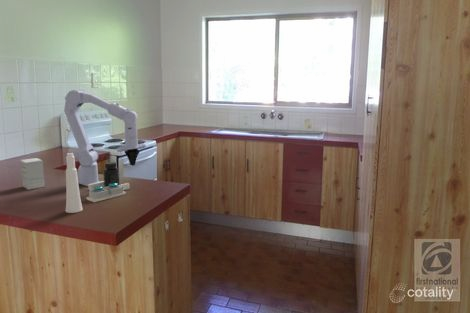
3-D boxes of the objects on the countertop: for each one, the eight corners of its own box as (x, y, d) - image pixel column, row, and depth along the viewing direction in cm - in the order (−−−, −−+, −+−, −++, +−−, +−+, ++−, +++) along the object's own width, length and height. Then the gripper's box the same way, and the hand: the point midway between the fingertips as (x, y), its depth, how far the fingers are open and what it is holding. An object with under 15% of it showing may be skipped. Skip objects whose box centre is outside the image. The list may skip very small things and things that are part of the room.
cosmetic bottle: (77, 206, 146) (73, 151, 142) (85, 210, 142) (82, 153, 138) (62, 210, 141) (57, 153, 137) (70, 214, 138) (66, 155, 133)
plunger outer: (92, 195, 156) (92, 187, 155) (100, 193, 158) (99, 185, 158) (97, 197, 153) (96, 188, 153) (105, 195, 156) (104, 187, 155)
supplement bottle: (121, 186, 174) (120, 161, 172) (117, 190, 168) (116, 164, 165) (106, 186, 174) (105, 161, 172) (102, 190, 167) (100, 164, 165)
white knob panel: (71, 193, 163) (70, 185, 162) (113, 183, 179) (113, 176, 178) (94, 202, 151) (93, 194, 151) (137, 191, 167) (136, 183, 167)
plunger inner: (107, 192, 161) (107, 183, 160) (114, 190, 164) (114, 182, 163) (112, 193, 159) (111, 185, 158) (119, 191, 161) (119, 183, 161)
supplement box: (39, 183, 177) (37, 157, 175) (45, 186, 172) (42, 160, 169) (22, 186, 172) (19, 159, 170) (27, 190, 167) (24, 162, 164)
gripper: (123, 139, 167) (124, 168, 170) (149, 136, 178) (150, 163, 181) (114, 137, 171) (115, 166, 174) (140, 134, 183) (141, 161, 185)
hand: (132, 165), depth 178 cm, fingers closed
